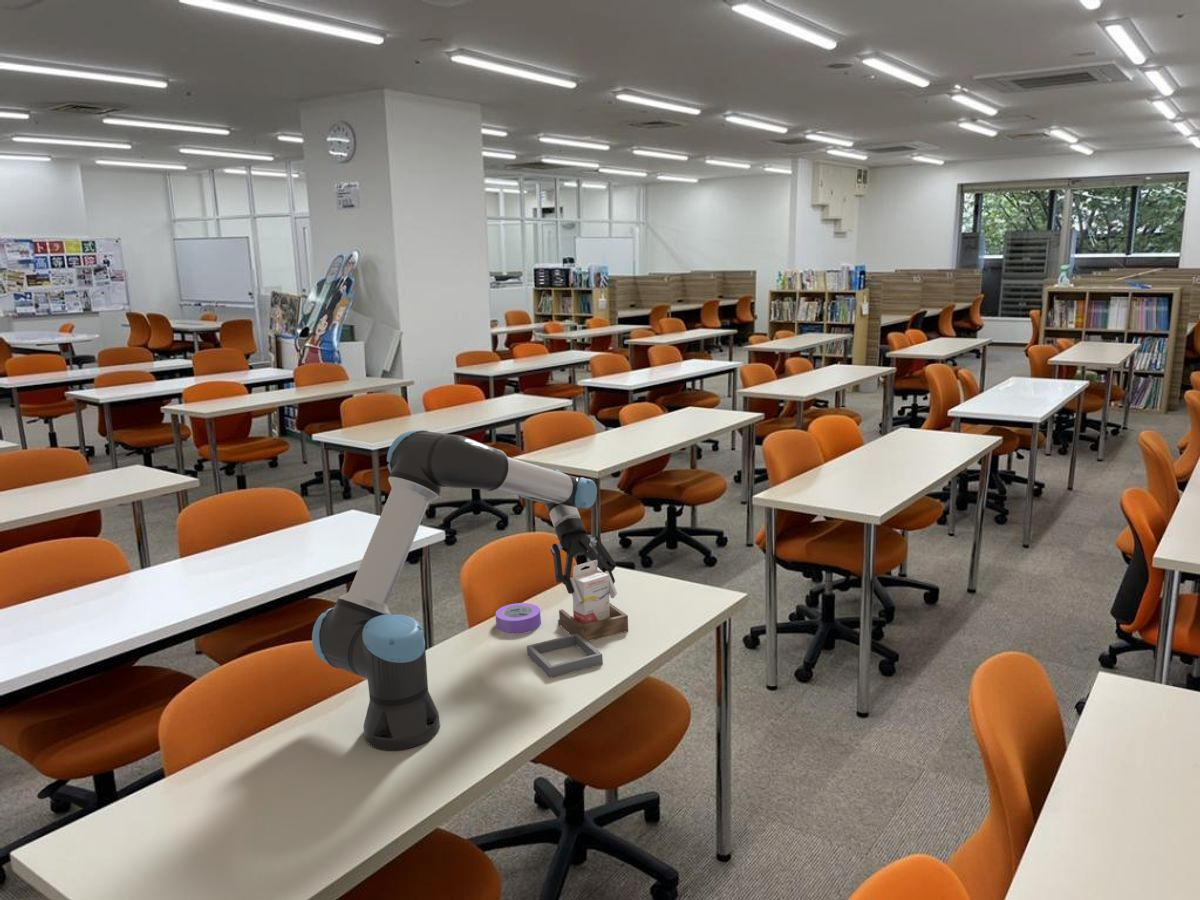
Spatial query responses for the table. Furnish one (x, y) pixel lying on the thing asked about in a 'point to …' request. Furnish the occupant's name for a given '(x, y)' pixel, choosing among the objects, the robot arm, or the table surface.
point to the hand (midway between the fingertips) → (596, 599)
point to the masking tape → (518, 618)
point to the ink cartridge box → (591, 593)
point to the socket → (568, 666)
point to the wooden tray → (595, 624)
